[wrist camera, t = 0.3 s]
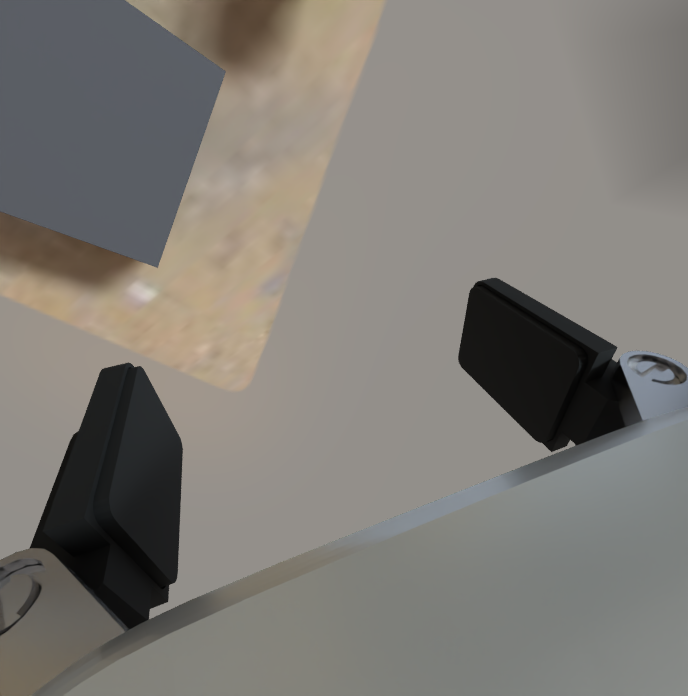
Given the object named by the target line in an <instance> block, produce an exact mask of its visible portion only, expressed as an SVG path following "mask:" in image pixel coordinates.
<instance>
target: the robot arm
mask: <svg viewBox="0 0 688 696" xmlns="http://www.w3.org/2000/svg"><path fill="white" fill-rule="evenodd" d="M616 349H617V347H616V346H614V345H613V344H611V343H609V342H607V341H606V340H604V339H602V338H601V337H599V336H597V335H595V334H594V333H592V332H590V331H589V330H587V329H585V328H583V327H581V326H580V325H578V324H576V323H575V322H573V321H571V320H569V319H568V318H566V317H564V316H562V315H561V314H559V313H557V312H555V311H554V310H552V309H550V308H548V307H547V306H545V305H543V304H541V303H540V302H538V301H536V300H535V299H533V298H531V297H529V296H528V295H525V294H524V293H522V292H521V291H519V290H517V289H515V288H514V287H512V286H510V285H508V284H507V283H505V282H503V281H501V280H500V279H497V278H491V279H487V280H482V281H478V282H477V283H475V285H474V287H473V288H472V289H471V290H470V293H469V298H468V304H467V310H466V316H465V321H464V328H463V333H462V338H461V344H460V350H459V356H458V360H459V363H460V365H461V367H462V368H463V369H464V370H465V371H466V372H467V373H468V374H469V375H470V376H471V377H472V378H473V379H474V380H475V381H476V382H477V383H478V384H479V385H480V386H481V387H482V388H483V389H484V390H485V391H486V392H487V393H488V394H489V395H490V396H491V397H492V398H493V399H494V400H495V401H496V402H497V403H498V404H499V405H500V406H501V407H502V408H503V409H504V410H505V411H506V412H507V413H508V414H509V415H510V416H511V417H512V418H513V419H514V420H516V422H517V423H519V425H520V426H521V427H523V428H524V429H525V430H526V431H527V432H528V433H529V434H530V435H531V436H532V437H533V438H534V439H535V440H536V441H538V442H540V443H543V444H544V445H545V446H546V447H547V448H548V449H549V450H550V451H551V452H552V451H555V450H558V449H560V448H563V447H565V446H567V444H568V442H569V441H570V440H571V441H573V442H574V443H575V446H574V447H572V448H569V449H566V450H564V451H561V452H559V453H556V454H554V455H551V456H548V457H546V458H544V459H541V460H538V461H535V462H533V463H531V464H528V465H525V466H523V467H520V468H518V469H515V470H512V471H510V472H507V473H505V474H502V475H500V476H497V477H495V478H492V479H489V480H487V481H484V482H482V483H479V484H477V485H474V486H472V487H469V488H467V489H464V490H461V491H459V492H456V493H454V494H451V495H449V496H446V497H444V498H441V499H439V500H436V501H434V502H431V503H428V504H426V505H423V506H421V507H418V508H416V509H413V510H411V511H409V512H406V513H403V514H401V515H398V516H396V517H393V518H391V519H388V520H386V521H383V522H381V523H378V524H376V525H373V526H371V527H368V528H366V529H363V530H361V531H358V532H356V533H353V534H351V535H348V536H346V537H343V538H341V539H338V540H336V541H333V542H331V543H328V544H326V545H323V546H321V547H318V548H316V549H313V550H311V551H308V552H306V553H303V554H301V555H298V556H296V557H293V558H290V559H288V560H286V561H283V562H280V563H278V564H276V565H273V566H271V567H269V568H266V569H264V570H261V571H259V572H257V573H254V574H252V575H250V576H247V577H245V578H243V579H240V580H237V581H235V582H233V583H231V584H228V585H226V586H223V587H221V588H218V589H216V590H214V591H211V592H209V593H206V594H204V595H202V596H199V597H197V598H195V599H192V600H190V601H188V602H186V603H184V604H182V605H179V606H177V607H175V608H173V609H171V610H169V611H166V612H164V613H162V614H160V615H158V616H156V617H154V618H152V619H149V611H150V609H151V608H154V607H156V606H158V605H161V604H164V603H166V602H168V594H169V593H168V591H169V585H170V584H172V583H175V581H176V579H177V573H178V550H179V525H180V501H181V477H182V476H181V475H182V453H183V451H182V450H183V448H182V443H181V439H180V437H179V435H178V433H177V431H176V429H175V427H174V425H173V424H172V422H171V420H170V418H169V416H168V414H167V412H166V410H165V408H164V407H163V405H162V403H161V401H160V399H159V397H158V395H157V394H156V392H155V390H154V388H153V386H152V384H151V382H150V380H149V378H148V376H147V375H146V373H145V371H144V369H143V368H142V367H141V366H139V367H134V366H133V365H132V364H131V363H125V364H121V365H116V366H112V367H108V368H104V369H102V370H101V372H100V374H99V377H98V380H97V382H96V385H95V388H94V391H93V394H92V396H91V399H90V402H89V405H88V407H87V410H86V413H85V416H84V418H83V421H82V424H81V427H80V429H79V431H78V432H77V433H75V434H74V435H73V437H72V439H71V441H70V443H69V446H68V448H67V451H66V454H65V456H64V459H63V461H62V464H61V467H60V470H59V472H58V475H57V477H56V480H55V483H54V485H53V488H52V491H51V493H50V496H49V499H48V501H47V504H46V506H45V509H44V512H43V514H42V517H41V520H40V523H39V525H38V528H37V530H36V533H35V536H34V538H33V541H32V544H31V546H30V549H26V550H23V551H19V552H15V553H14V554H12V555H9V556H7V557H5V558H3V559H1V560H0V696H688V368H687V367H686V366H684V365H683V364H682V363H680V362H678V361H676V360H674V359H672V358H670V357H667V356H664V355H661V354H658V353H653V352H648V351H630V352H627V353H624V354H623V355H622V356H621V357H620V359H619V361H618V362H615V361H614V360H612V357H613V355H614V353H615V351H616Z"/></svg>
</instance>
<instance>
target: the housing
mask: <svg viewBox="0 0 688 696" xmlns="http://www.w3.org/2000/svg"><path fill="white" fill-rule="evenodd" d="M225 72H226V71H224V70H223V69H221V68H220V67H219V66H217V65H216V64H214V63H213V62H212V61H210V60H209V59H207V58H206V57H204V56H203V55H202V54H200V53H199V52H197V51H196V50H195V49H193V48H192V47H190V46H189V45H187V44H186V43H185V42H183V41H182V40H180V39H179V38H177V37H176V36H175V35H173V34H172V33H170V32H169V31H168V30H166V29H165V28H163V27H162V26H160V25H159V24H158V23H156V22H155V21H153V20H152V19H151V18H149V17H148V16H146V15H145V14H143V13H142V12H141V11H139V10H138V9H136V8H135V7H134V6H132V5H131V4H129V3H128V2H126V1H125V0H0V212H3V213H6V214H9V215H12V216H14V217H17V218H20V219H23V220H26V221H28V222H31V223H34V224H37V225H40V226H42V227H45V228H48V229H51V230H54V231H56V232H59V233H62V234H65V235H68V236H70V237H73V238H76V239H79V240H82V241H84V242H87V243H90V244H93V245H96V246H98V247H101V248H104V249H107V250H110V251H112V252H115V253H118V254H121V255H124V256H126V257H129V258H132V259H135V260H138V261H140V262H143V263H146V264H149V265H152V266H154V267H157V268H158V265H159V262H160V259H161V256H162V253H163V251H164V248H165V245H166V242H167V239H168V236H169V233H170V230H171V228H172V225H173V222H174V219H175V216H176V213H177V210H178V207H179V205H180V202H181V199H182V196H183V193H184V190H185V187H186V184H187V182H188V179H189V176H190V173H191V170H192V167H193V164H194V161H195V159H196V156H197V153H198V150H199V147H200V144H201V141H202V138H203V136H204V133H205V130H206V127H207V124H208V121H209V118H210V115H211V113H212V110H213V107H214V104H215V101H216V98H217V95H218V92H219V90H220V87H221V84H222V81H223V78H224V75H225Z"/></svg>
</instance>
